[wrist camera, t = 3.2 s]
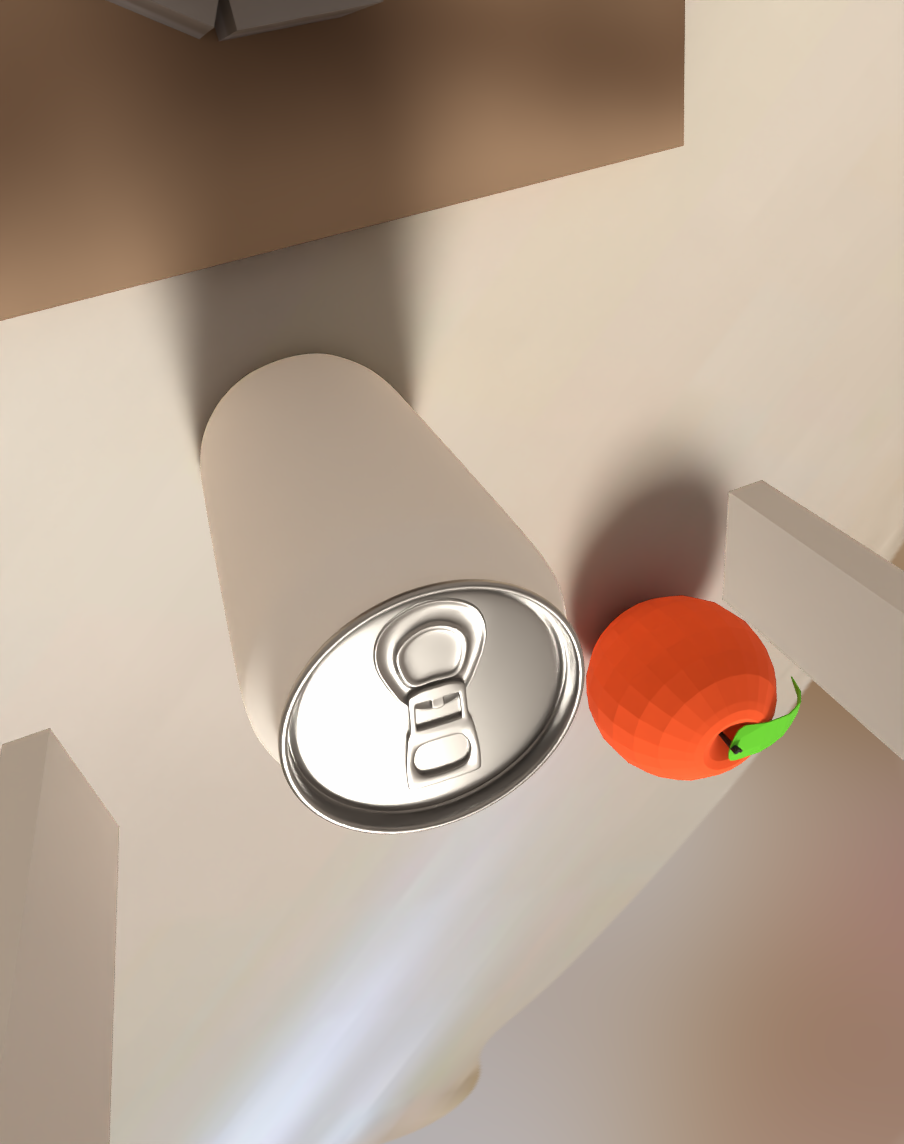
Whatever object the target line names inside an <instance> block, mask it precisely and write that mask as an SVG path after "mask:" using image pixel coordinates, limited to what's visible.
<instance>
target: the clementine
mask: <svg viewBox="0 0 904 1144" xmlns="http://www.w3.org/2000/svg"><path fill="white" fill-rule="evenodd" d="M791 678H792V682H793V685H794V688H795V691H796V694H797V697H798V698H797V706H796V707H795V708H794V709H793V710H792V711H791V712H790V713H789V714H787V715H785V716H782V717H780V718H777V719H774V720H772V718H773V716H774V713H775V707H776V701H777V695H776V678H775V672H774V667H773V665H772V662H771V660H770V657H769V655H768V652H767V650H766V648H765V646H764V645H763V643H762V642H761V640H760V639H759V637H758V636H757V635H756V634H755V633H754V631H753V630H752V629H751V628H750V627H749V625H748V624H747V623H746V622H745V621H744V620H742V619H741V618H739V617H737V616H736V615H734V614H733V613H731V612H729V611H728V610H726V609H725V608H723V607H721V606H720V605H718V604H716V603H715V602H711V601H706V600H702V599H698V598H693V597H688V596H683V595H680V596H669V597H661V598H655V599H650V600H647V601H644V602H641V603H638V604H636V605H635V606H633V607H631V608H629V609H628V610H626V611H624V612H623V613H622V614H620V615H619V616H618V617H617V618H616V619H615V620H613V621H612V622H611V623H610V624H609V625H608V627H607V628H606V629H605V630H604V632H603V633H602V634H601V635H600V637H599V639H598V641H597V643H596V645H595V646H594V648H593V652H592V656H591V659H590V663H589V667H588V671H587V675H586V685H587V696H588V703H589V709H590V711H591V713H592V716H593V718H594V721H595V723H596V725H597V727H598V729H599V730H600V732H601V734H602V736H603V738H604V739H605V740H606V741H607V742H608V743H609V744H610V745H611V746H612V747H613V748H614V749H615V750H616V751H617V752H618V753H619V754H620V755H621V756H622V757H623V758H624V759H625V760H626V761H627V762H628V763H630V764H632V765H634V766H636V767H638V768H640V769H642V770H644V771H646V772H648V773H650V774H653V775H656V776H658V777H663V778H670V779H676V780H696V779H701V778H706V777H710V776H715V775H719V774H721V773H724V772H726V771H729V770H731V769H733V768H734V767H736V766H738V765H739V764H741V763H742V762H743V761H745V760H746V759H747V758H748V757H749V756H750V755H752V754H755V753H758V752H760V751H762V750H764V749H765V748H767V747H768V746H770V745H772V744H773V743H774V742H775V741H776V740H778V739H779V738H780V737H782V736H783V735H784V733H785V732H786V731H787V729H788V728H789V726H790V725H791V724H792V722H793V720H794V718H795V716H796V715H797V712H798V709H799V706H800V703H801V691H800V689H799V687H798V686H797V684H796V682H795V681H794V679H793V677H792V676H791Z"/></svg>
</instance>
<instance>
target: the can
mask: <svg viewBox="0 0 904 1144" xmlns="http://www.w3.org/2000/svg"><path fill="white" fill-rule="evenodd" d="M200 471H201V480H202V487H203V493H204V499H205V505H206V511H207V517H208V522H209V528H210V534H211V539H212V545H213V550H214V556H215V561H216V567H217V572H218V578H219V583H220V589H221V594H222V599H223V605H224V610H225V615H226V621H227V626H228V631H229V637H230V642H231V647H232V653H233V658H234V663H235V668H236V673H237V678H238V682H239V687H240V691H241V695H242V699H243V703H244V707H245V710H246V713H247V715H248V718H249V721H250V723H251V726H252V728H253V730H254V732H255V734H256V736H257V737H258V739H259V740H260V742H261V743H262V745H263V746H264V747H265V749H266V750H267V751H268V752H269V753H270V754H271V756H272V757H273V758H274V759H275V760H276V761H277V762H278V763H279V764H281V767H282V770H283V773H284V776H285V778H286V780H287V782H288V784H289V786H290V788H291V789H292V791H293V792H294V794H295V795H296V796H297V798H298V799H299V800H300V801H301V802H302V803H303V804H304V805H305V806H306V807H307V808H309V809H310V810H311V811H312V812H314V813H315V814H317V815H318V816H320V817H321V818H323V819H325V820H327V821H329V822H331V823H333V824H335V825H338V826H341V827H344V828H347V829H351V830H355V831H360V832H366V833H375V834H402V833H411V832H418V831H424V830H428V829H433V828H437V827H440V826H444V825H447V824H450V823H453V822H456V821H459V820H461V819H464V818H466V817H468V816H471V815H473V814H475V813H477V812H479V811H481V810H483V809H485V808H487V807H489V806H491V805H492V804H494V803H496V802H497V801H499V800H500V799H502V798H504V797H505V796H507V795H508V794H509V793H511V792H512V791H514V790H515V789H516V788H518V787H519V786H520V785H521V784H523V783H524V782H525V781H526V780H527V779H528V778H530V777H531V776H532V775H533V774H534V773H535V772H536V771H537V770H538V769H539V768H540V767H541V766H542V765H543V764H544V763H545V762H546V760H547V759H548V758H549V757H550V756H551V755H552V753H553V752H554V751H555V749H556V748H557V747H558V745H559V744H560V742H561V741H562V739H563V738H564V736H565V735H566V733H567V731H568V729H569V727H570V726H571V724H572V721H573V719H574V717H575V715H576V712H577V709H578V707H579V704H580V700H581V696H582V692H583V686H584V672H585V670H584V658H583V652H582V648H581V645H580V642H579V639H578V637H577V634H576V632H575V630H574V629H573V627H572V625H571V624H570V622H569V621H568V620H567V617H566V610H565V604H564V600H563V596H562V593H561V589H560V587H559V584H558V582H557V579H556V577H555V575H554V574H553V572H552V570H551V569H550V567H549V565H548V564H547V562H546V561H545V559H544V558H543V556H542V555H541V554H540V552H539V551H538V550H537V549H536V547H535V546H534V545H533V544H532V542H531V541H530V540H529V539H528V538H527V536H526V535H525V534H524V533H523V532H522V531H521V529H520V528H519V527H518V526H517V525H516V524H515V522H514V521H513V520H512V519H511V518H510V517H509V516H508V514H507V513H506V512H505V511H504V510H503V509H502V508H501V507H500V505H499V504H498V503H497V502H496V501H495V500H494V499H493V497H492V496H491V495H490V494H489V493H488V492H487V491H486V490H485V488H484V487H483V486H482V485H481V484H480V483H479V482H478V481H477V479H476V478H475V477H474V476H473V475H472V474H471V473H470V472H469V471H468V469H467V468H466V467H465V466H464V465H463V464H462V463H461V462H460V460H459V459H458V458H457V457H456V456H455V455H454V454H453V453H452V452H451V450H450V449H449V448H448V447H447V446H446V445H445V444H444V443H443V442H442V440H441V439H440V438H439V437H438V436H437V435H436V434H435V433H434V432H433V430H432V429H431V428H430V427H429V426H428V425H427V424H426V423H425V422H424V420H423V419H422V418H421V417H420V416H419V415H418V414H417V413H416V412H415V411H414V410H413V408H412V407H411V406H410V405H409V404H408V403H407V402H406V401H405V400H404V399H403V398H402V397H401V396H400V394H399V393H398V392H397V391H396V390H395V389H394V388H393V387H392V386H391V385H390V384H389V383H388V382H386V381H385V380H384V379H383V378H382V377H380V376H379V375H378V374H376V373H375V372H373V371H372V370H370V369H368V368H367V367H365V366H363V365H361V364H358V363H356V362H354V361H351V360H348V359H345V358H342V357H338V356H334V355H329V354H319V353H314V354H302V355H296V356H292V357H287V358H284V359H281V360H278V361H275V362H272V363H270V364H267V365H265V366H263V367H261V368H259V369H257V370H255V371H253V372H251V373H250V374H248V375H246V376H245V377H244V378H242V379H241V380H240V381H238V382H237V383H236V384H235V385H234V386H233V387H232V388H231V389H230V390H229V391H228V392H227V393H226V394H225V395H224V397H223V398H222V399H221V400H220V402H219V403H218V405H217V406H216V408H215V409H214V411H213V413H212V415H211V417H210V419H209V421H208V423H207V426H206V429H205V432H204V435H203V440H202V445H201V453H200Z"/></svg>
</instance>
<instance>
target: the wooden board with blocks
mask: <svg viewBox="0 0 904 1144" xmlns="http://www.w3.org/2000/svg"><path fill="white" fill-rule="evenodd" d="M684 44H685V0H0V321H2V320H6V319H10V318H13V317H17V316H21V315H25V314H29V313H33V312H37V311H41V310H45V309H49V308H52V307H56V306H60V305H64V304H68V303H72V302H76V301H80V300H84V299H88V298H91V297H95V296H99V295H103V294H107V293H111V292H115V291H119V290H123V289H126V288H130V287H134V286H138V285H142V284H146V283H150V282H154V281H158V280H162V279H165V278H169V277H173V276H177V275H181V274H185V273H189V272H193V271H197V270H201V269H204V268H208V267H212V266H216V265H220V264H224V263H228V262H232V261H236V260H240V259H243V258H247V257H251V256H255V255H259V254H263V253H267V252H271V251H275V250H279V249H282V248H286V247H290V246H294V245H298V244H302V243H306V242H310V241H314V240H318V239H321V238H325V237H329V236H333V235H337V234H341V233H345V232H349V231H353V230H357V229H360V228H364V227H368V226H372V225H376V224H380V223H384V222H388V221H392V220H395V219H399V218H403V217H407V216H411V215H415V214H419V213H423V212H427V211H431V210H434V209H438V208H442V207H446V206H450V205H454V204H458V203H462V202H466V201H470V200H473V199H477V198H481V197H485V196H489V195H493V194H497V193H501V192H505V191H509V190H512V189H516V188H520V187H524V186H528V185H532V184H536V183H540V182H544V181H548V180H551V179H555V178H559V177H563V176H567V175H571V174H575V173H579V172H583V171H587V170H590V169H594V168H598V167H602V166H606V165H610V164H614V163H618V162H622V161H625V160H629V159H633V158H637V157H641V156H645V155H649V154H653V153H657V152H661V151H664V150H668V149H672V148H676V147H680V146H684Z"/></svg>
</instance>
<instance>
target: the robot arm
mask: <svg viewBox="0 0 904 1144" xmlns="http://www.w3.org/2000/svg"><path fill="white" fill-rule="evenodd" d="M722 599H723V600H724V601H725V602H726V603H727V604H728V605H729V606H730V607H732V608H733V609H734V610H735V611H736V612H737V613H738V614H739V615H740V616H742V617H743V618H744V619H745V620H746V621H747V622H748V623H749V624H751V625H752V626H753V627H754V628H755V629H756V630H757V631H758V632H760V633H761V634H762V635H763V636H764V637H765V638H766V639H767V640H769V641H770V642H771V643H772V644H773V645H774V646H775V647H776V648H778V649H779V650H780V651H781V652H782V653H783V654H784V655H785V656H787V657H788V658H789V659H790V660H791V661H792V662H793V663H794V664H795V665H797V666H798V667H799V668H800V669H801V670H802V671H803V672H804V673H806V674H807V675H808V676H809V677H810V678H811V679H812V680H813V681H815V682H816V683H817V684H818V685H819V686H820V687H821V688H823V689H824V690H825V691H826V692H827V693H828V694H829V695H830V696H832V697H833V698H834V699H835V700H836V701H837V702H838V703H839V704H841V705H842V706H843V707H844V708H845V709H846V710H847V711H848V712H849V713H851V714H852V715H853V716H854V717H855V718H856V719H857V720H859V722H861V723H862V724H863V725H864V726H865V727H866V728H867V729H868V730H870V731H871V732H872V733H873V734H874V735H875V736H876V737H878V738H879V739H880V740H881V741H882V742H883V743H884V744H885V745H886V746H888V747H889V748H890V749H891V750H892V751H893V752H894V753H896V754H897V755H898V756H899V757H900V758H901V759H902V760H903V761H904V571H903V570H901V569H900V568H898V567H897V566H895V565H893V564H892V563H890V562H889V561H887V560H886V559H884V558H883V557H881V556H880V555H878V554H876V553H875V552H873V551H872V550H870V549H869V548H867V547H865V546H864V545H862V544H861V543H859V542H858V541H856V540H855V539H853V538H851V537H850V536H848V535H847V534H845V533H844V532H842V531H841V530H839V529H837V528H836V527H834V526H833V525H831V524H830V523H828V522H827V521H825V520H823V519H822V518H820V517H819V516H817V515H816V514H814V513H812V512H811V511H809V510H808V509H806V508H805V507H803V506H802V505H800V504H798V503H797V502H795V501H794V500H792V499H791V498H789V497H788V496H786V495H784V494H783V493H781V492H780V491H778V490H777V489H775V488H774V487H772V486H770V485H769V484H767V483H766V482H764V481H763V480H760V481H758V482H755V483H752V484H749V485H746V486H743V487H740V488H738V489H735V490H732V491H729V494H728V511H727V528H726V546H725V563H724V580H723V597H722ZM118 848H119V825H118V824H117V823H116V821H115V820H114V818H113V817H112V816H111V814H110V813H109V811H108V810H107V808H106V807H105V806H104V804H103V803H102V801H101V800H100V799H99V797H98V796H97V794H96V793H95V791H94V790H93V789H92V787H91V786H90V784H89V783H88V782H87V780H86V779H85V777H84V776H83V774H82V773H81V772H80V770H79V769H78V767H77V766H76V764H75V763H74V762H73V760H72V759H71V757H70V756H69V755H68V753H67V752H66V750H65V749H64V747H63V746H62V745H61V743H60V742H59V740H58V739H57V738H56V736H55V735H54V733H53V732H52V730H51V729H50V728H48V729H46V730H43V731H40V732H37V733H34V734H31V735H28V736H25V737H23V738H20V739H17V740H14V741H11V742H8V743H5V744H2V749H1V754H0V1144H109V1142H110V1109H111V1077H112V1044H113V1011H114V979H115V946H116V913H117V881H118Z"/></svg>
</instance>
